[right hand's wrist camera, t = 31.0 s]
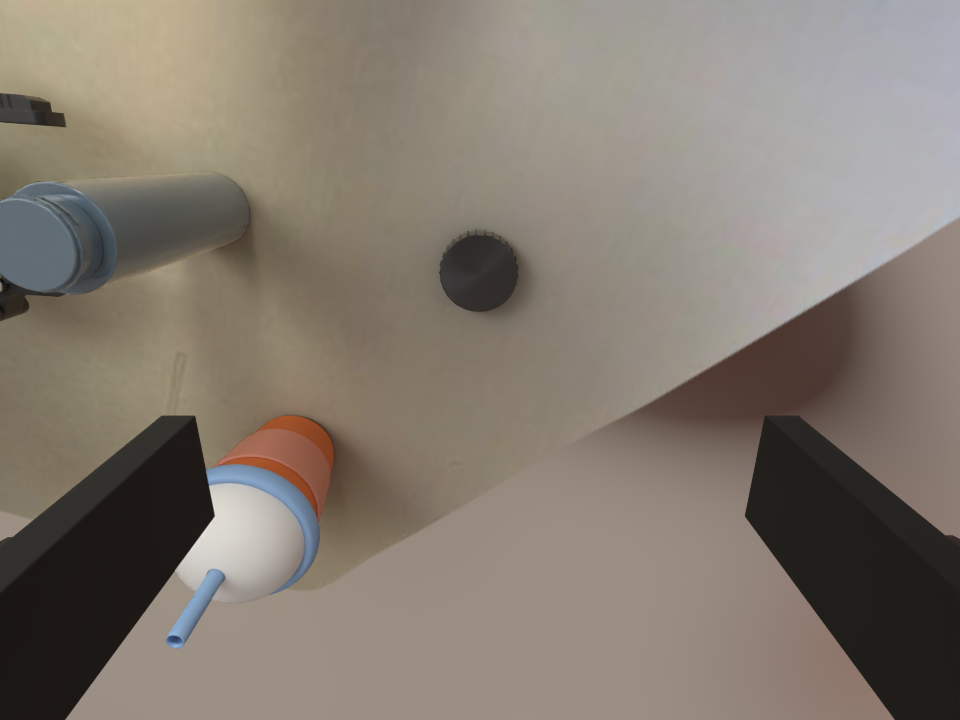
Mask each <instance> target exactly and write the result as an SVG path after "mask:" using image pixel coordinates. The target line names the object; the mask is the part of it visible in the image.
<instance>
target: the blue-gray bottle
mask: <svg viewBox="0 0 960 720" xmlns="http://www.w3.org/2000/svg"><path fill="white" fill-rule="evenodd" d="M249 219H250V211H249V205H248V202H247V199H246V197H245V195H244V193H243V192H242V190H241V189H240V188H239V187H238V185H237V184H235V183H234V182H233V181H232V180H231V179H229V178H227V177H226V176H223V175H221V174H218V173H214V172H197V173H179V174H161V175H143V176H126V177H108V178H90V179H72V180H54V181H40V182H34V183H30V184H28V185H26V186H23V187H22V188H20V189H19V190H17V191H16V192H15V193H14V194H13V195H12V196H10V197H8V198H5V199H3V200H2V201H0V274H1V275H3V276H4V277H5V278H6V279H8V280H9V281H11V282H12V283H14V284H16V285H18V286H20V287H23V288H25V289H29V290H33V291H38V292H43V293H49V292H60V293H65V294H85V293H89V292H92V291H95V290H98V289H101V288H104V287H107V286H110V285H113V284H115V283H118V282H121V281H124V280H127V279H130V278H133V277H136V276H138V275H141V274H144V273H147V272H150V271H153V270H156V269H159V268H161V267H164V266H167V265H170V264H173V263H176V262H179V261H182V260H184V259H187V258H190V257H193V256H196V255H199V254H202V253H205V252H207V251H210V250H213V249H216V248H219V247H222V246H225V245H228V244H230V243H233V242H235V241H236V240H238V239H239V238H240V237H241V236H242V235H243V234H244V233H245V231H246V229H247V227H248V224H249Z"/></svg>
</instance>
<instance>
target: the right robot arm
mask: <svg viewBox="0 0 960 720" xmlns="http://www.w3.org/2000/svg"><path fill="white" fill-rule="evenodd" d="M214 517H215V513H214V508H213V503H212V498H211V493H210V488H209V483H208V478H207V473H206V468H205V463H204V458H203V453H202V448H201V443H200V438H199V433H198V428H197V423H196V418H195V416H161V417H160V418H158V419H157V420H156V421H155V422H154V423H152V424H151V425H150V426H149V427H147V428H146V429H145V430H144V431H142V432H141V433H140V434H139V435H138V436H136V437H135V438H134V439H133V440H131V441H130V442H129V443H128V444H126V445H125V446H124V447H123V448H122V449H120V450H119V451H118V452H117V453H115V454H114V455H113V456H112V457H111V458H109V459H108V460H107V461H106V462H104V463H103V464H102V465H101V466H99V467H98V468H97V469H96V470H95V471H93V472H92V473H91V474H90V475H88V476H87V477H86V478H85V479H84V480H82V481H81V482H80V483H79V484H77V485H76V486H75V487H74V488H72V489H71V490H70V491H69V492H68V493H66V494H65V495H64V496H63V497H61V498H60V499H59V500H58V501H56V502H55V503H54V504H53V505H52V506H50V507H49V508H48V509H47V510H45V511H44V512H43V513H42V514H41V515H39V516H38V517H37V518H36V519H34V520H33V521H32V522H31V523H29V524H28V525H27V526H26V527H25V528H23V529H22V530H21V531H20V532H18V533H17V534H16V535H15V536H14V537H8V538H6V539H4V540H2V541H0V720H65V719H66V718H67V716H68V715H69V714H70V712H71V711H72V710H73V708H74V707H75V706H76V704H77V703H78V702H79V700H80V699H81V697H82V696H83V695H84V693H85V692H86V691H87V689H88V688H89V687H90V685H91V684H92V683H93V681H94V680H95V678H96V677H97V676H98V674H99V673H100V672H101V670H102V669H103V668H104V666H105V665H106V664H107V662H108V661H109V659H110V658H111V657H112V655H113V654H114V653H115V651H116V650H117V649H118V647H119V646H120V645H121V643H122V642H123V640H124V639H125V638H126V636H127V635H128V634H129V632H130V631H131V630H132V628H133V627H134V626H135V624H136V623H137V621H138V620H139V619H140V617H141V616H142V615H143V613H144V612H145V611H146V609H147V608H148V606H149V605H150V604H151V602H152V601H153V600H154V598H155V597H156V596H157V594H158V593H159V592H160V590H161V589H162V588H163V586H164V585H165V583H166V582H167V581H168V579H169V578H170V577H171V575H172V574H173V573H174V571H175V570H176V569H177V567H178V566H179V565H180V563H181V562H182V560H183V559H184V558H185V556H186V555H187V554H188V552H189V551H190V550H191V548H192V547H193V546H194V544H195V543H196V541H197V540H198V539H199V537H200V536H201V535H202V533H203V532H204V531H205V529H206V528H207V527H208V525H209V524H210V522H211V521H212V520H213V518H214ZM745 517H746V518H747V520H748V521H749V522H750V524H751V525H752V527H753V528H754V529H755V531H756V532H757V533H758V535H759V536H760V537H761V539H762V540H763V541H764V543H765V544H766V545H767V547H768V548H769V550H770V551H771V552H772V554H773V555H774V556H775V558H776V559H777V560H778V562H779V563H780V565H781V566H782V567H783V569H784V570H785V571H786V573H787V574H788V575H789V577H790V578H791V579H792V581H793V582H794V583H795V585H796V586H797V588H798V589H799V590H800V592H801V593H802V594H803V596H804V597H805V598H806V600H807V601H808V602H809V604H810V605H811V607H812V608H813V609H814V611H815V612H816V613H817V615H818V616H819V617H820V619H821V620H822V621H823V623H824V624H825V626H826V627H827V628H828V630H829V631H830V632H831V634H832V635H833V636H834V638H835V639H836V640H837V642H838V643H839V645H840V646H841V647H842V649H843V650H844V651H845V653H846V654H847V655H848V657H849V658H850V659H851V661H852V662H853V664H854V665H855V666H856V668H857V669H858V670H859V672H860V673H861V674H862V676H863V677H864V678H865V680H866V681H867V683H868V684H869V685H870V687H871V688H872V689H873V691H874V692H875V693H876V695H877V696H878V697H879V699H880V700H881V702H882V703H883V704H884V706H885V707H886V708H887V710H888V711H889V712H890V714H891V715H892V716H893V718H894V719H895V720H960V539H959V538H957V537H955V536H953V535H944V534H943V533H942V532H940V531H939V530H938V529H937V528H935V527H934V526H933V525H932V524H931V523H929V522H928V521H927V520H926V519H924V518H923V517H922V516H921V515H919V514H918V513H917V512H916V511H915V510H913V509H912V508H911V507H910V506H908V505H907V504H906V503H905V502H904V501H902V500H901V499H900V498H899V497H897V496H896V495H895V494H894V493H892V492H891V491H890V490H889V489H888V488H886V487H885V486H884V485H883V484H881V483H880V482H879V481H878V480H876V479H875V478H874V477H873V476H872V475H870V474H869V473H868V472H867V471H865V470H864V469H863V468H862V467H861V466H859V465H858V464H857V463H856V462H854V461H853V460H852V459H851V458H849V457H848V456H847V455H846V454H845V453H843V452H842V451H841V450H840V449H838V448H837V447H836V446H835V445H834V444H832V443H831V442H830V441H829V440H827V439H826V438H825V437H824V436H822V435H821V434H820V433H819V432H818V431H816V430H815V429H814V428H813V427H811V426H810V425H809V424H808V423H806V422H805V421H804V420H803V419H802V418H800V417H799V416H765V418H764V423H763V428H762V433H761V438H760V443H759V448H758V453H757V458H756V463H755V468H754V473H753V478H752V483H751V488H750V493H749V498H748V503H747V508H746V513H745Z"/></svg>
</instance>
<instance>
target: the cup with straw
mask: <svg viewBox="0 0 960 720" xmlns="http://www.w3.org/2000/svg"><path fill="white" fill-rule="evenodd" d="M333 461H334V448H333V444H332V441H331V439H330V438H329V436H328V434H327V433H326V432H325V431H324V430H323V429H322V428H321V427H320V426H319V425H318V424H316V423H315V422H313V421H311V420H309V419H306V418H303V417H299V416H281V417H278V418H275V419H272V420H270V421H269V422H267V423H266V424H264V425H263V426H262V427H261V428H260V429H259V430H258V431H256V432H255V433H253V434H251V435H249V436H248V437H246V438H245V439H244V440H242V441H241V442H240V443H239V444H238V445H237V446H236V447H235V448H234V449H232V450H231V451H230V452H229V453H228V454H227V455H226V456H225V457H223V458H222V459H221V460H220V461H219V462H218V463H217V464H216V465H214V466H213V467H212V468H210V469H207V470H206V473H207V478H208V483H209V488H210V493H211V498H212V503H213V508H214V513H215V517H214V518H213V520H212V521H211V522H210V524H209V525H208V527H207V528H206V529H205V531H204V532H203V533H202V535H201V536H200V537H199V539H198V540H197V541H196V543H195V544H194V546H193V547H192V548H191V550H190V551H189V552H188V554H187V555H186V556H185V558H184V559H183V560H182V562H181V563H180V565H179V566H178V567H177V569H176V570H175V571H176V573H177V574H178V576H179V577H180V578H181V580H182V581H183V582H184V583H185V584H186V585H187V586H188V587H189V588H190V589H192V590H193V591H194V592H195V594H194V595H193V597H192V599H191V600H190V602H189V603H188V605H187V606H186V608H185V609H184V611H183V612H182V614H181V615H180V617H179V618H178V620H177V621H176V623H175V625H174V626H173V628H172V629H171V631H170V632H169V634H168V635H167V637H166V643H167V645H168V646H170V647H172V648H181V647H183V645H184V644H185V642H186V641H187V639H188V637H189V636H190V634H191V632H192V631H193V629H194V628H195V626H196V624H197V622H198V621H199V619H200V618H201V616H202V614H203V613H204V611H205V609H206V608H207V606H208V604H209V603H210V601H211V600H214V601H217V602H223V603H243V602H249V601H253V600H257V599H259V598H262V597H265V596H267V595H270V594H274V593H277V592H279V591H282V590H284V589H286V588H288V587H289V586H291V585H293V584H294V583H295V582H297V581H298V580H299V579H300V578H301V577H302V576H303V575H304V574H305V573H306V572H307V570H308V569H309V567H310V566H311V564H312V563H313V561H314V559H315V556H316V554H317V550H318V546H319V539H320V531H319V524H318V523H319V520H320V517H321V513H322V510H323V506H324V503H325V499H326V496H327V492H328V489H329V485H330V473H331V469H332V466H333Z"/></svg>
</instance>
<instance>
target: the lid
mask: <svg viewBox="0 0 960 720" xmlns="http://www.w3.org/2000/svg"><path fill="white" fill-rule="evenodd" d="M442 257H443V260H441V263H440V265H441V267H440V272H439V274H440V278H441V280H440V281H441V283H442V286H443V289H444V291H445V293H446V294H447V296H448V297H449V298H450V299H451V300H452V301H453V302H454V303H455V304H457V305H458V306H460V307H462V308H464V309H466V310H470V311H477V312H479V311H488V310H491V309H494V308H496V307H498V306H500V305H501V304H503V303H504V302H505V301H506V300H507V299H508V298H509V297H510V295H511V294H512V292H513V290H514V288H515V286H516V282H517V277H518V270H517V269H518V265H517V264H516V261H517V260H516V257H515V256H514V255H513V250H512V248H511V249H510V247H509V246H508V243H507V242H505V241H504V240H503V239H502V238H501V236H500V237H498V236H497V235H495V234H494V233H493V232H492V233H490V232H486V230H484V231H477V230H476V231H473V232H469V231H468V232H467V233H465V234H463V235H460V236H459V237H458V238H456V239H453V241H452V243H451V244H450V245H448V246H447V249H446V252H444V254H443V256H442Z"/></svg>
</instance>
